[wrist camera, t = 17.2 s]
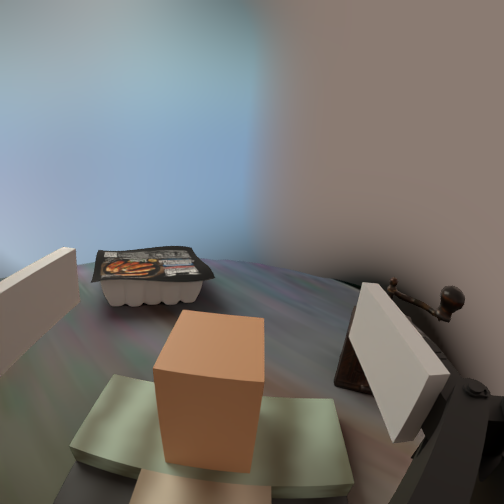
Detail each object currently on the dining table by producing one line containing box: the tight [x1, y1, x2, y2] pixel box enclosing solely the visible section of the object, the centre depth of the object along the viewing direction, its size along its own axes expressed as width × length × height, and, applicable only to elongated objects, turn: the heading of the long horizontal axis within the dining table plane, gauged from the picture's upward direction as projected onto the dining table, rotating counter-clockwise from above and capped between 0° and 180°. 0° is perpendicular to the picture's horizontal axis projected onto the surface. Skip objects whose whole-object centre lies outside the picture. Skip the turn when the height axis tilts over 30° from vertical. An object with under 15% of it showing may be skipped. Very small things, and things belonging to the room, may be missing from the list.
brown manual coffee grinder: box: [334, 277, 465, 394], centre depth 42 cm, size 16×11×18 cm
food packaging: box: [91, 246, 215, 307], centre depth 70 cm, size 25×8×23 cm
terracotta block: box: [153, 310, 264, 473], centre depth 27 cm, size 8×10×12 cm
